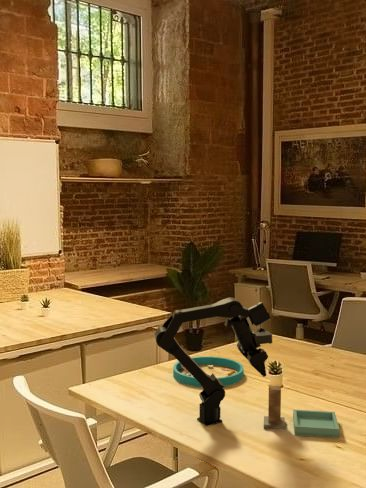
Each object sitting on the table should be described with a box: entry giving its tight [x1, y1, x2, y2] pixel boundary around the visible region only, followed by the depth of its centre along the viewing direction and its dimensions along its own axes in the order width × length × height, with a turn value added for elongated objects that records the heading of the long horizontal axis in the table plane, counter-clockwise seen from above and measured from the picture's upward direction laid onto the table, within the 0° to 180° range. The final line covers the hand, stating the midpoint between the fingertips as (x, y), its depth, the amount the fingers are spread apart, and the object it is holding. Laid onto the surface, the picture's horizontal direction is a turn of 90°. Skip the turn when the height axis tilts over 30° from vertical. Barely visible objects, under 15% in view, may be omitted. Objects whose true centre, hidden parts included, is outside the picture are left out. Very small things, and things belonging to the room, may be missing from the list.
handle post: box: [263, 385, 286, 431], centre depth 192 cm, size 7×7×13 cm
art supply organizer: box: [172, 355, 245, 388], centre depth 243 cm, size 30×30×6 cm
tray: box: [292, 409, 340, 439], centre depth 190 cm, size 14×14×3 cm
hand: (261, 371), depth 196 cm, fingers open, 9 cm apart
